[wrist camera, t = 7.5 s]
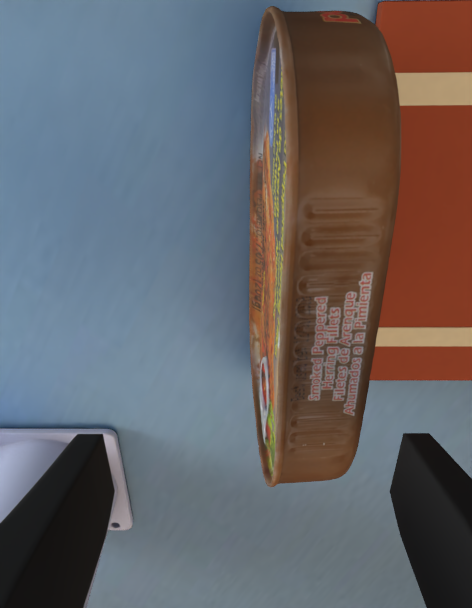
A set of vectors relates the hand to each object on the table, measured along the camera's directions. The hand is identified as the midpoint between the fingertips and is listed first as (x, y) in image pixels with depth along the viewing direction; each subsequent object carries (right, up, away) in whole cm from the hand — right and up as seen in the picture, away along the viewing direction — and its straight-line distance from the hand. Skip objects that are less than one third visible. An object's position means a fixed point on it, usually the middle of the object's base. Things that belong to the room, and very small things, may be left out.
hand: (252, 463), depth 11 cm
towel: (+8, +7, +7) cm, 13 cm away
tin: (+2, +7, +8) cm, 10 cm away
